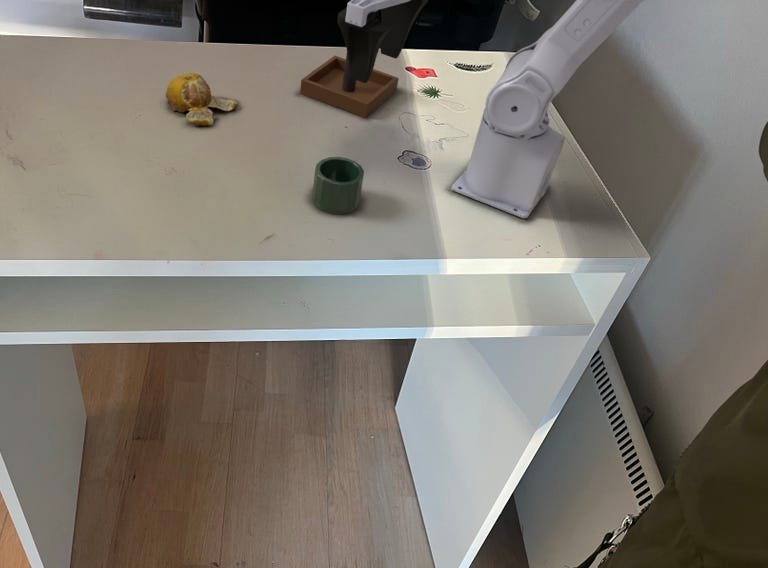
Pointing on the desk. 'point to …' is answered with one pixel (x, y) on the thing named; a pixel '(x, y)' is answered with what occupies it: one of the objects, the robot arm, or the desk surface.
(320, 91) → the brown tray
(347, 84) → the marker
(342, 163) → the green hollow cylinder
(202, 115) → the fruit
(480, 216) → the desk surface
